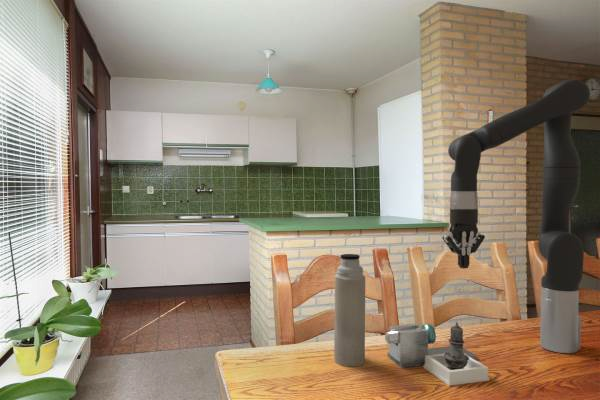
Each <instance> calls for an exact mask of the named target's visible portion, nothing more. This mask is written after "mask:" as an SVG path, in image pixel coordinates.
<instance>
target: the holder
mask: <svg viewBox="0 0 600 400" xmlns="http://www.w3.org/2000/svg"><path fill="white" fill-rule="evenodd" d="M465 355H466V354H465ZM468 357H469V356H468ZM448 366H449V365H448V364H447V363H446V361H445V357H444V354H436V355H427V356H425V365H423V368H424V369H425V370H427V372H429V373H431V375H434V377H436V378H438V379H439V380H440V381H442V382H443V383H445V385H447V386H449V387H451V386H458V385H463V384H471V383H472V384H473V383H480V382H481V383H482V382H486V381H487V382H488V381H491V380H490V379H491V378H490V377H489V367H488V366H486V365H484V364H483V363H481V362H479V361H478V360H477V359H473V358H471V357H469V360H468V363H467V365H466V366H465V367H464V369H456V370H450V369H448V368H447V367H448Z"/></svg>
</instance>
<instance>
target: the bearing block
mask: <svg viewBox="0 0 600 400" xmlns="http://www.w3.org/2000/svg"><path fill="white" fill-rule="evenodd" d="M388 328H389V331H388V332H392V331H402V332H398V343H394V344H388V345H389V346H388V347H389V348H388V349H389V351H388V352H387V358H389V359H390V360H392V362H394V363H395V364H396V365H398V366H399V367H400V368H402V369H405V368H413V367H421V366H423V365H425V356H427V355H436V354H445V353H448V352H449V350H450V345H449V346H448V345H447V346H438V347H430V348H429V344H428V330H426V329H423V330H414V329H420V328H419V324H417V323H411V324H400V325H390V326H389V327H388ZM403 330H413V331H403ZM463 352H464V354H466V355H467V356H469V357H471V358H473V359H474V360H477V359H478V358H477V354H475V353H473V352H472V351H469V350H468V349H466V348H465V347H463Z"/></svg>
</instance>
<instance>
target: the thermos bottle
mask: <svg viewBox="0 0 600 400" xmlns="http://www.w3.org/2000/svg"><path fill="white" fill-rule="evenodd" d="M336 272H337V273H336V274H335V275H334V335H333V336H334V340H333V341H334V342H333V343H334V344H333V345H334V346H333V347H334V348H333V351H334V353H333V355H334V359H333V361H334V362H335V363H336V364H337V365H341V366H345V367H359V366H362V365H364V363H365V362H366V360H365V359H366V358H365V357H366V345H365V344H366V276H365V275H364V270H363V267H362V266H361V265H360V254H356V253H355V254H354V253H343V254H341V255H340V265H339V266H338V267H337V270H336Z"/></svg>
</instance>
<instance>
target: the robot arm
mask: <svg viewBox="0 0 600 400" xmlns="http://www.w3.org/2000/svg"><path fill="white" fill-rule="evenodd" d="M590 98H591V90H590V88H589V86H588V85H587V83H585V82H584V81H583V80H579V79H575V78H574V79H572V78H571V79H567V80H563V81H560V82H558V83H556V84H554V85H552V86H550V87H548V88H547V89H546V90H545V92H544V93H543V96H542V97H541V98H540V99H538V100H536V101H533V102H532V103H529V104H528V105H526V106H523V107H521V108H518V109H515V110H513V111H511V112H509V113H506V114H504V115H502V116H500V117H497V118H496V119H493V120H492V121H490V122H488V123H485V124H484V125H483V126H481V127H479V128H477V129H475V130H473V131H471V132H469V133H466V134H464V135H462V136H459V137H457V138H456V139H453V140H452V141H451V142H450V144H449V146H448V149H447V151H448V156H449V158H450V159H452V160H453V161H454V170H453V172H452V173H451V175H450V176H451V177H450V197H449V223H450V227H449V232H448V233H447V234H446V235H443V236H442V237H441V239H442V241H443V242H444V243H445V244H446V246H447V247H448V249H449V250H450V252H451V253H453V254H456V255H457V266H459V267H458V268H459V269H468V268H469V267H470V256H471V254H473V253H476V252H477V251H478V249H479V247H480V246H481V244H482V243H483V241H484V240H485V238H486V237H485V235H484V234H481V233H480V232H479V228H478V226H477V224H478V222H479V196H478V172H479V168H480V163H481V157H482V156H481V155H482V153H483V152H485V151H487V150H490V149H491V150H492V149H494V148H497V147H499V146H500V145H503V144H505V143H507V142H509V141H511V140H513V139H515V138H516V137H519V136H520V135H522V134H524V133H527V132H528V131H530V130H531V129H534V128H535V127H538V126H540V125H541V124H543V132H544V133H543V160H542V161H543V163H542V180H541V181H542V190H541V191H542V193H541V194H542V197H541V198H542V200H541V203H542V204H541V206H542V207H541V208H542V211H541V212H542V213H541V223H540V227H539V228H540V229H539V234H538V244H537V245H538V250H539V251H538V252H539V253H540V255H541V256H542V257H543V258H544V259H545V260H546V261H547V262H546V264H547V265H546V272H545V274H544V275H543V276H541V280H540V281H541V284H540V287H541V288H540V289H541V290H540V293H541V294H540V332H539V333H540V335H539V337H540V338H539V339H540V341H539V342H540V343H539V344H540V346H541V347H542V348H543V349H545V350H547V351H551V352H555V353H560V354H575V353H577V352H578V351H580V350H581V338H582V337H581V335H582V334H581V332H582V331H581V329H582V326H581V325H582V317H581V315H579V302H580V301H579V295H580V293H579V290H580V283H581V282H582V279H583V271H584V257H585V256H584V255H585V254H584V253H585V252H584V245H583V243H582V240H581V239H580V237H578V236H577V235H575V234H574V233H570V214H571V210H572V207H573V204H574V201H575V199H576V197H577V194H578V191H579V187H580V183H581V159H580V156H579V153H578V150H577V147H576V146H575V143H574V141H573V137H572V133H571V128H572V127H571V125H572V124H571V123H572V114H575V113H577V112H579V111H581V110H582V109H583V108H584V107H586V105H587V104H588V102H589V101H590Z"/></svg>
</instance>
